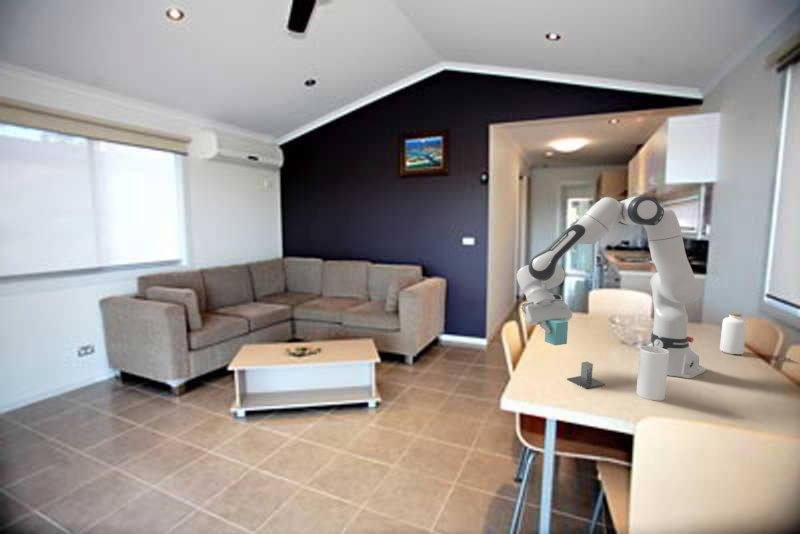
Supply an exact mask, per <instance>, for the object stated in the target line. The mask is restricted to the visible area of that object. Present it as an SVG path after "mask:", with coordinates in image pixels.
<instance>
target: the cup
mask: <svg viewBox="0 0 800 534" xmlns="http://www.w3.org/2000/svg"><path fill="white" fill-rule="evenodd" d="M668 359H669V351H668V350H666V349H664V348H660V347H655V346H649V345H642V346H640V347H639V359H638V368H637V369H638V371H637V381H636V394H637V395H638V396H639V397H641V398H643V399H646V400H648V401H658V402H659V401H664V400H665V398H666V392H667V391H666V388H667V378H668V375H667V370H668Z"/></svg>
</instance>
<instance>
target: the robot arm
mask: <svg viewBox="0 0 800 534" xmlns="http://www.w3.org/2000/svg"><path fill="white" fill-rule="evenodd" d="M618 223H619V224H621V225H624V226H634V227H635V226H636V227H637V226H643V228H644V229H645V231H646V236H647V241H648V242H647V243H648V247H649V252H650V253H649V254H650V258H651V261H652V263H653V264H654V266H655V269H656V271H657V272H655V273H654V274H653V275H652V276H651V278H650V279H649V280H650V281H649V285H650V288H651V292H652V294H651V295H652V303H653V325H652V328H653V329H652V332H651V333H650V334H651V335H650V343H649V344H648V346H655V347H660V348H664V349H666V350H668V351H669V359H668V370H667V376H671V377H677V378H678V377H679V378H685V379H692V378H695V377H698V375H701V374H703V373H705V372H707V369H706V368H705V366H702V365H700V356H699V354H697V353H696V351H694V350H693V349H692V348H691V347H690V344H689V343H693V342H694V337H692V336H688V326H689V315H688V313H687V311H686V304H687V305H688V304H693V303H694V302H696V301H698V299H699V298H700V297H701V294H702V286H701V285H700V283H699V282H698V280H697V278H696V277H695V274H694V271H693V269H692V266H691V264H690V262H689V260H688V257H687V256H688V255H687V254H686V249H685V245H684V244H685V243H684V238H683V233H682V229H681V226H680V223H679V220H678V217H677V214H676V213H675V211H673V210H672V209H669V208H665V207H662V206H661V204H660V203H659V202H658V200H656V199H655V198H654V197H652V196H649V195H636V196H635V195H633V196H631V197H627V198H624V199H621V200H619V201H618V200H617V199H615V198H613V197H610V196H605V197H602V198H600V199H599V200H598V201H597V202H596V203H594V204H593V205H592V206H591V207H590V208H589V209H588V210H587V211H586V212H585V213H584V214H583V215H582V217H581V218H580V219H579V220H577V222H575V223H574V224H573V225H571V226H570V227H568V228H567V229H566V230H565V231H564V232H562V233H561V234H560V235H559V236H558V237H557V238H556V239H555V240H554V241H552V242H551V244H550V245H549V246H547V248H545V249H544V250H543V251H541V252H540V253H538V254H536V255H535V256H533V257H532V258H531V259H530V261H529V263H528V264H527V265H524V266H522V267H520V269H519V270H517V273H516V281H517V283H518V285H519V287H520V290H521V292H522V293H523V294H524V295H525V298H526V301H527V302H523V303H522V304H521V306H520V308H521V311H522V312H523V316H524V319H525V322H526V323H527V324H528V325H529V326H531V327H532V326H538V325H539V327H541V329H543V330H544V332H545V331H546V332H547V334H549V333H552V329H551V327H548V326H547V325H546V321H547V320H554V319H561V320H564V321H567V322H569V321H570V320H571V319H572V318H573V312H572V310H571V309H570V307H569V306H568V305H567V303H566V302H565V301H563V300H564V299H563V296H562V295H561V294H556V293H552V292H549V291H548V290H551V289H554V288H556V287H558V286H560V285H561V284H563V282H564V281H565V278H566V272H565V269H564V268H563V267H562V266H561V265H560V264H559V261H560V260H561V258H563V257H564V256H565V255H566V254H567V253H568V252H570V250H571V249H572V248H574V247H575V246H577V245H581V244H584V245H595V244H596V243H598V242H599V241H600V240H602V239H603V238H604V237H605V236H606V235H607V233H609V232H610V231H611V229H612V228H613V226H615V225H616V224H618Z"/></svg>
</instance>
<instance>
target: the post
mask: <svg viewBox="0 0 800 534" xmlns="http://www.w3.org/2000/svg"><path fill="white" fill-rule="evenodd" d="M593 368H594V364H593V363H591V362H589V361H583V362H581V367H580V375H577V376H572V377H568V378H566V381H569V382H571V383H573V384H575V385H577V386H579V385H580V386H579V387H581V386H582V387H581V388H583V387H584V388H583V389H585V388H586V389H585V390H589V388H590V389H595V388H600V387H604V386H606V383H604V382H601V380H597V379H595V378H593Z"/></svg>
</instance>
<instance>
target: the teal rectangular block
mask: <svg viewBox="0 0 800 534" xmlns="http://www.w3.org/2000/svg"><path fill="white" fill-rule="evenodd" d="M546 325H547V326H548V327H551V329H552V333H549V334H547V332H546V331H545V330H544V342H545V343H548V344H550V345H553V346H562V345H567V344H568V330H569V327H568V326H569V321H564V320H561V319H554V320H547V321H546Z"/></svg>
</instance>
